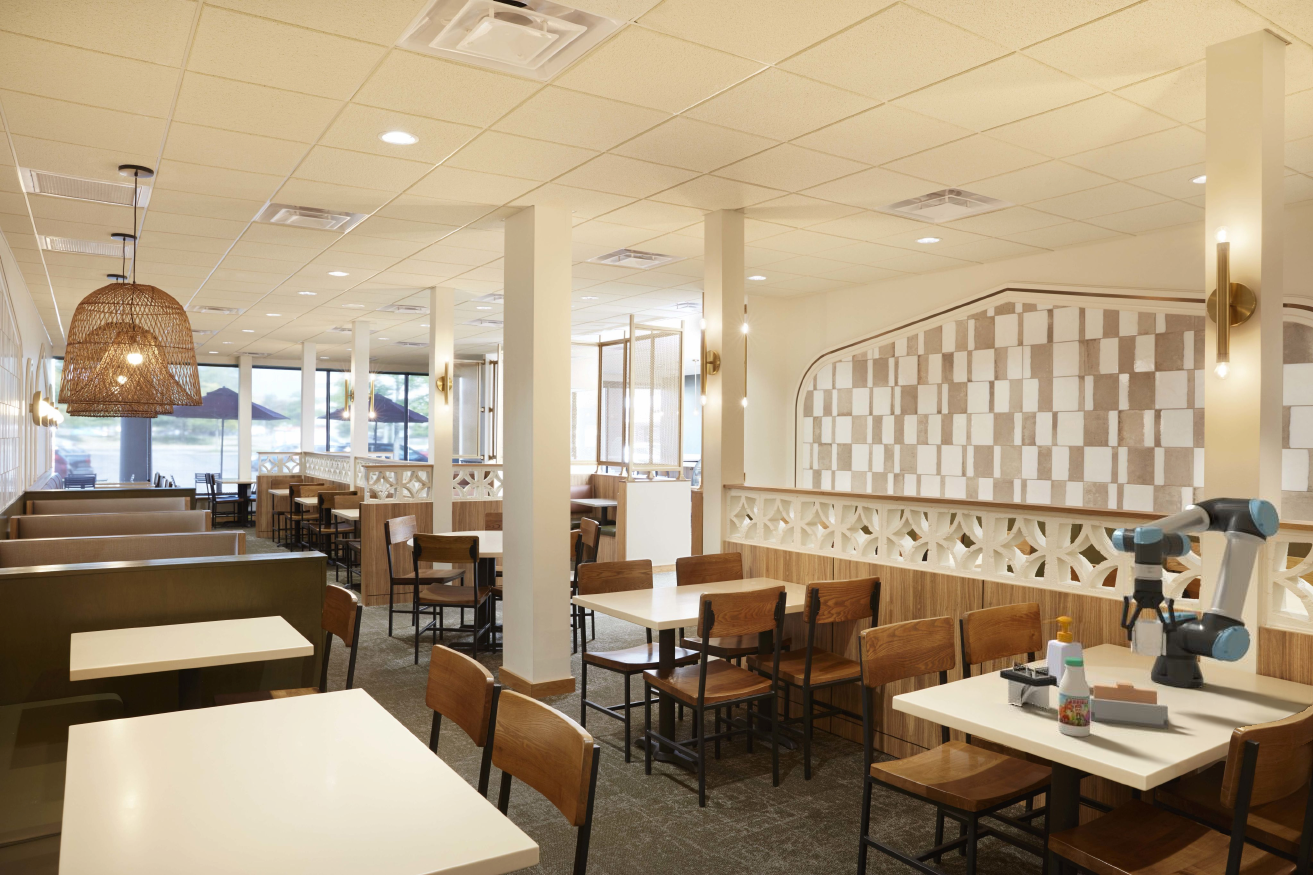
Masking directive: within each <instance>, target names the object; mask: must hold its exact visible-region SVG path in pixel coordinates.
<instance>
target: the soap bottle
mask: <svg viewBox="0 0 1313 875" xmlns="http://www.w3.org/2000/svg"><path fill="white" fill-rule="evenodd" d="M1051 622H1057V623H1058V625H1059V626H1061V627H1062V628H1061V629H1062V630H1061V631H1057V632H1056V633H1057V635H1056V639H1051V640H1048V643H1047V649H1046V650H1047V651H1046V658H1045V660H1046V661H1045V667H1047V668H1044V669H1048V666H1050V675H1052V676H1055V677H1057V685H1056V686H1058V687H1059V685H1060V682H1061V680H1062V678H1063V676H1064V673H1065V670H1066V666H1065V658H1067V657H1075V658H1080V659H1083V660H1084V655H1083V654H1084V653H1083V645H1082V644H1081V643H1080V642H1077V641H1074V640H1073V636H1074V635H1073V633H1072V632H1069V631H1068V629H1069V628H1068V627H1072V623H1074V622H1075V620H1074V619H1073V618H1071V617H1068V616H1064V615H1063V616H1060V617H1059V616H1058V618H1056V619H1055V618H1054V619H1049V620H1044V621H1042V624H1047V623H1051ZM1083 667H1084V668H1083V674H1084V677H1085V678H1086V674H1085V664H1084V665H1083Z"/></svg>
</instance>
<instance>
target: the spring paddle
mask: <svg viewBox="0 0 1313 875" xmlns="http://www.w3.org/2000/svg"><path fill="white" fill-rule="evenodd" d="M1115 684H1116V685H1115V686H1113V685H1103V684H1093V698H1096V699H1106V700H1116V701H1126V702H1136V703H1146V704H1156V705H1158V691H1157V690H1155V689H1146V688H1138V687H1137V688H1135V687H1134V684H1133V683H1132V682H1123V681H1122V682H1121V681H1116V682H1115Z"/></svg>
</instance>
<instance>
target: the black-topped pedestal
mask: <svg viewBox="0 0 1313 875" xmlns="http://www.w3.org/2000/svg"><path fill="white" fill-rule="evenodd" d="M1045 668H1047V667H1046V666H1042V667H1034V668H1030V667H1029V666H1028V665H1027V664H1023V663H1021V662H1020V663H1019V662H1017V661H1014V660H1013V661H1012V669H1003V670H1000V671H999V678H1002V679H1004V680H1007V684H1008V685H1007V687H1008V688H1007V692H1008V694H1007V695H1008V696H1007V704H1008V703H1015V704H1018V705H1021V706H1023V703H1028V702H1030V703H1029V704H1031V703H1033V704H1036V705H1039V706H1041V707H1040V708H1042V707H1044V708H1043V709H1045V708H1046V710H1048V709H1049V710H1050V686H1057V677H1055V676H1052V675H1050V666H1048V669H1045ZM1025 701H1027V702H1025ZM1033 704H1032V705H1033ZM1036 705H1035V706H1036ZM1039 706H1038V707H1039Z"/></svg>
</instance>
